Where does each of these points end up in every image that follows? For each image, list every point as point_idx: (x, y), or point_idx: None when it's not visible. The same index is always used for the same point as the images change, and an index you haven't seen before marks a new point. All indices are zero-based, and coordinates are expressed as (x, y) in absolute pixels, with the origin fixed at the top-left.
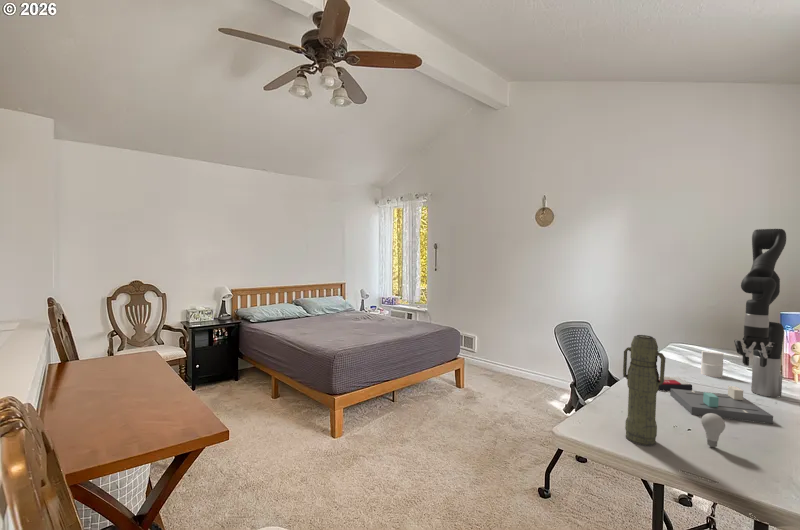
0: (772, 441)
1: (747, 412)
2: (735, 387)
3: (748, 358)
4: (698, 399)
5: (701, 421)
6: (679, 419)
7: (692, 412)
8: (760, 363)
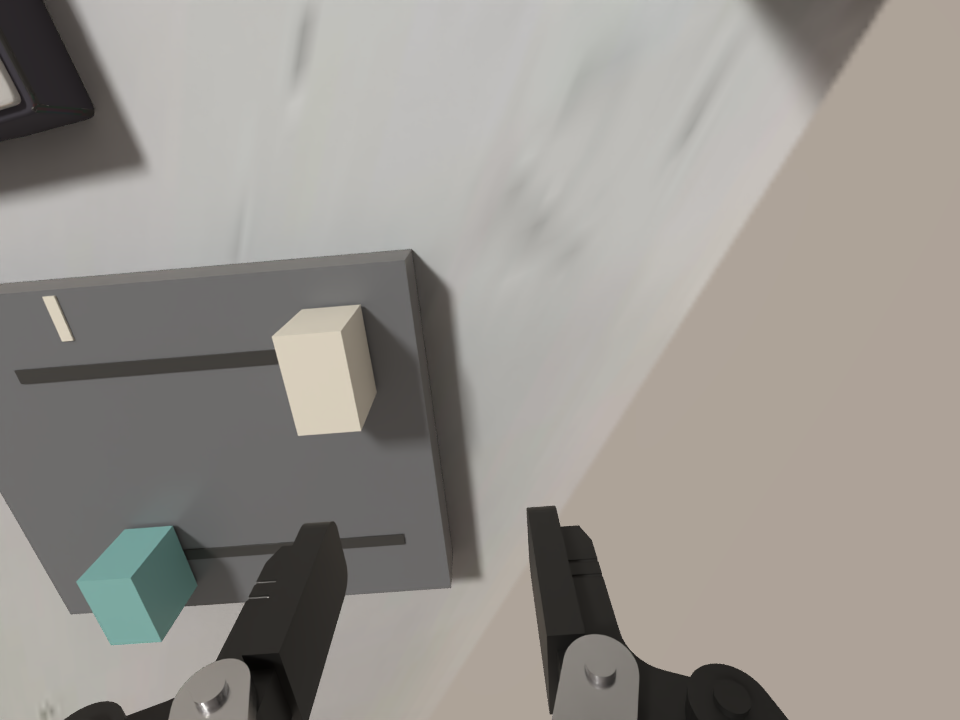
0: (370, 711)
1: None
2: (323, 358)
3: (303, 700)
4: (101, 483)
5: None
6: (56, 650)
7: None
8: (532, 541)
